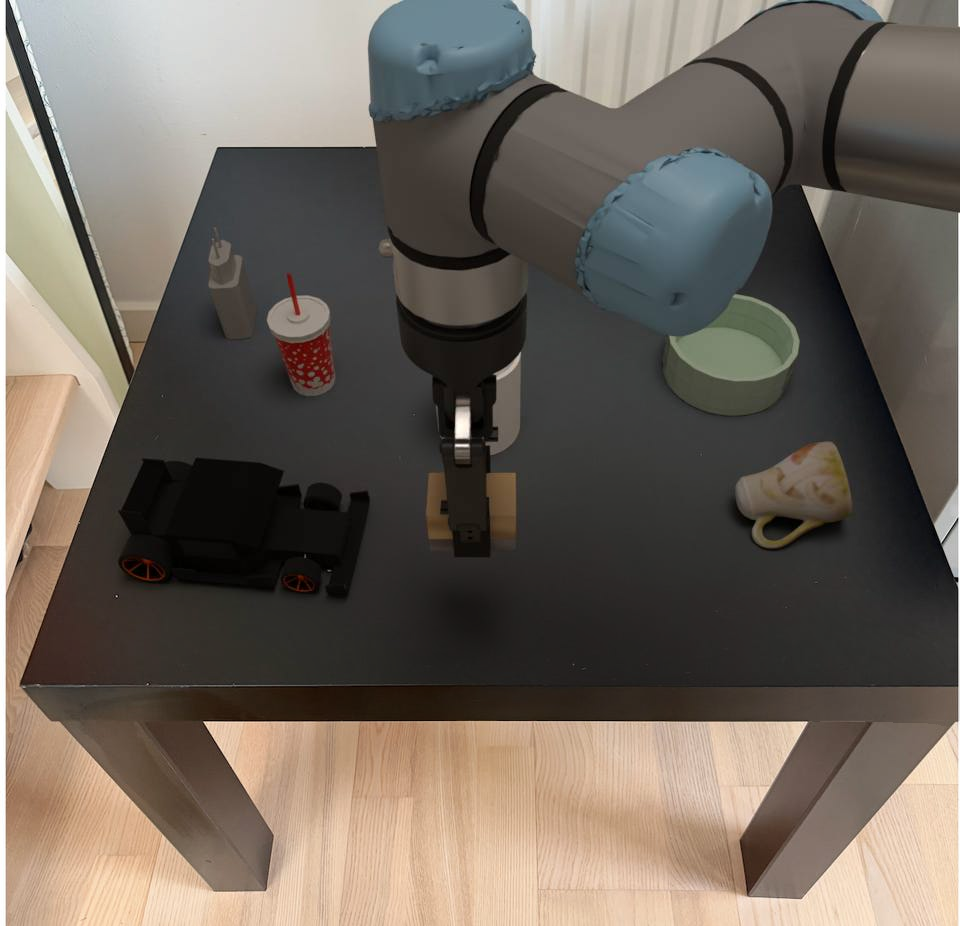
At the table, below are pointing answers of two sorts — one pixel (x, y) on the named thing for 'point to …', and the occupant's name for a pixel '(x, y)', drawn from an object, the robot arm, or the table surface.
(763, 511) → the mug
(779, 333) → the bowl
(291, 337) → the beverage cup
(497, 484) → the eraser
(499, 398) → the cup
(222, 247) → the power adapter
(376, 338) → the table surface
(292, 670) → the table surface
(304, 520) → the toy truck
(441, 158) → the robot arm
